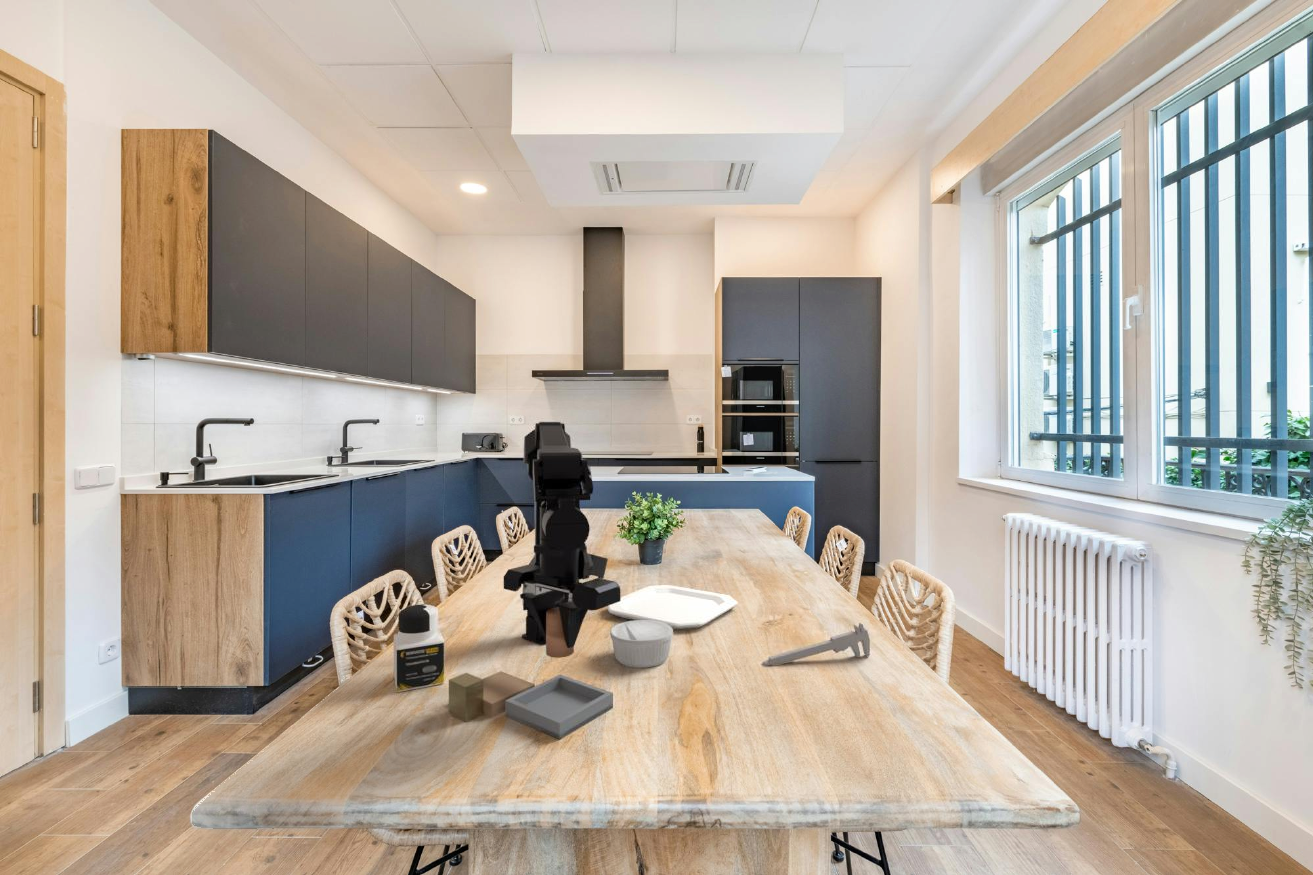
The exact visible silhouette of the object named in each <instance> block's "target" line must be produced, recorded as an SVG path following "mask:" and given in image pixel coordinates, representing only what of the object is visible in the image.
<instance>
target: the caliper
mask: <svg viewBox="0 0 1313 875" xmlns="http://www.w3.org/2000/svg"><path fill="white" fill-rule="evenodd" d="M853 629H854V631H853V630H851V631H846V632H844V633H839V634H837V635H834V636H830V638H829V639H827V640H824V641H821V642H817V643H813V644H810V645H807V646H802V647H799V648H796V649H793V650H788V651H786V652H781V653H778V654H775V655H771V656H768V659H767V660H764V661H762V663H761V664H762V665H763V666H764V667H767V666H770V665H771V666H780V665H783V664H787V663H791V662H793V661H797V660H801V659H805V658H808V657H811V656H815V655H819V654H823V653H826V652H829V651H833V652H834V653H835V654H837V653H840V652H844V651H846V650H847V649H849V648H850V649H851V650H852V651H851V652H853V654H854V656H855V657H856V656H857V658H858V657H862V656H861V651H860V645H859V643H860V642H861V647H862V650H863V654H865V655H866V656H868V657H869V656H870V654H871V653H870V652H871V643H870V642H871V640H870V636H869V632H868V629H866V628H864V625H863V624H862V623H861V622H859V623H858V626H857V625H855V624H853ZM865 655H864V656H865ZM866 656H865V657H866Z"/></svg>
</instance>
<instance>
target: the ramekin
mask: <svg viewBox="0 0 1313 875" xmlns="http://www.w3.org/2000/svg"><path fill="white" fill-rule="evenodd" d="M673 636H674V629H672V628H671V627H670V626H669V625H668V624H666V623H663V622H659V621H652V620H628V621H624V622H620V623H618V624H616V625H614V626H613V627H612V628H611V629H610V638H611V641H612V646H613V651H614V656H615V659H616V660H617V661H618V662H619V664H621V665H623V666H625V667H629V668H637V669H644V668H645V669H646V668H651V667H656V666H659V665H661V664H663V663H664V662H665V661H666V660H667V659H668V658H669V655H670V650H671V645H672V639H673Z"/></svg>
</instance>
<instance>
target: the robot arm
mask: <svg viewBox="0 0 1313 875" xmlns="http://www.w3.org/2000/svg"><path fill="white" fill-rule="evenodd" d="M523 465H526V466H527V475H528V477H529V478H530V480H531V481H532V484H533V497H534V498H533V499H534V507H535V508H534V545H533V553H534V556H533V557H532V559H531V560H530V562H529V563H528V564H525V565H521V566H517V567H513V568H510V569H509V568H508V569H507V571H506V573H505V574H504V575H503V590H507V591H512V592H518V591H519V590H520V589H521V588H522V593H521V594H519V597H520V599H522V609H523V611H526V616H525V633H522V634H521V638H522V639H526V640H529V641H533V642H535V643H538V644H541V645H546V611H547V610H549V609H552V608H558V607H559V611H560V617H561V622H562V627H563V632H564V638H565V642H566V645H567V648H572V647H573V646H574V647H575V645H576V641H577V639H578V636H579V633H580V630H581V628H582V625H583V622H584V620H585V617H586V615H587V613H588V611H597V610H601V609H603V608H607V606H609V605H611V604H614V603H617V602H619V601H620V598H621V586H620V584H618V582H617V581H614V580H609V579H605V574H606V569H607V565H608V560H609V558H606V557H604V556H600V555H595V554H593V553H588V548H587V545H586V542H587V541H588V538H589V535H590V531H591V528H590V524H589V519H588V518H587V516H586V515H585V514H584V512H582V510H581V507H580V504H581V503H580V501H591V495H592V494H594V493H593V492H594V483H593V476H592V471H591V466H590V465H589V463H588V460H587V458H583V453H582V452H581V451H580V450H579V448H575V447H572V444H571V436H570V434H568V433H567V432H566V426H565V423H562V422H561V421H539V422H536V423H535V425H534V429H533V430H532V431H530V432H529V433H527V434H526V435H525V436H524V438H523ZM590 576H594V577H596V578H593V579H590V580H587V581H584V582H580V580H586V579H589V578H590Z"/></svg>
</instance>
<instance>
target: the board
mask: <svg viewBox="0 0 1313 875" xmlns="http://www.w3.org/2000/svg"><path fill="white" fill-rule="evenodd" d="M482 679H483V714H482V715H485V716H487V717H489V718H491V719H494V718H495V717H497V716H498V717H499V715H501V714H503V713H505V700H507V699H510V698H512V697H514V696H516V695H518V694H520V693H522V692H524V691H526V690H529V689H531V688H533V687H535V686H536V684H535V683H533V682H530V681H527V680H524V679H522V678H519V677H518V676H515V675H511V674H509V673H507V672H504V671H501V670H500V671H498V672H495V673H493V674H491V675H488V676H486V677H484V678H482Z"/></svg>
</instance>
